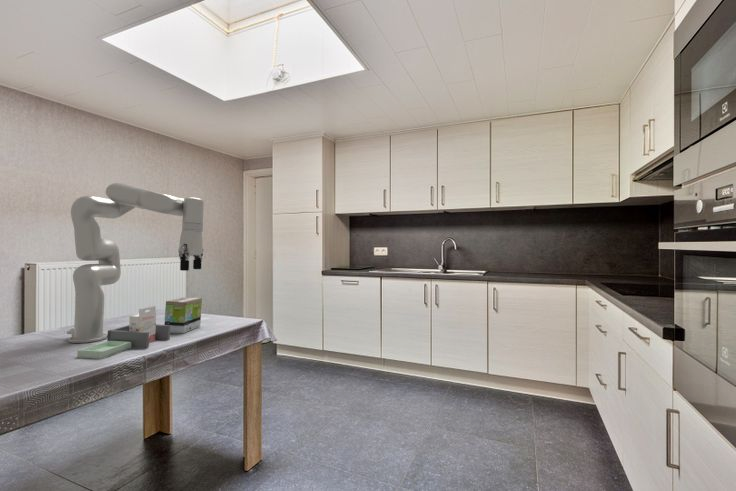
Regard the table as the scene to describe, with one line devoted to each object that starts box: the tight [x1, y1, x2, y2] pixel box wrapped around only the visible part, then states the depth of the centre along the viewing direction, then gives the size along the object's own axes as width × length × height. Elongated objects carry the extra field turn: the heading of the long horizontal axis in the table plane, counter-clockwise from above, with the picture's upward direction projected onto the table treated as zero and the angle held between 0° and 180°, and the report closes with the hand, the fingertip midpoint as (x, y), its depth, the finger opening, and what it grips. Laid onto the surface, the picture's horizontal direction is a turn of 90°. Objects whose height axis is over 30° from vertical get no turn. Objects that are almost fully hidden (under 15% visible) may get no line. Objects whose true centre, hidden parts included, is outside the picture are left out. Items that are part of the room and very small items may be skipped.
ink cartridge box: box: [128, 305, 157, 343], centre depth 141 cm, size 9×5×15 cm, turn 168°
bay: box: [106, 324, 171, 349], centre depth 141 cm, size 16×14×6 cm
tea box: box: [163, 296, 203, 334], centre depth 165 cm, size 15×10×15 cm, turn 179°
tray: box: [76, 340, 132, 360], centre depth 127 cm, size 10×13×2 cm
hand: (191, 269), depth 140 cm, fingers open, 9 cm apart
